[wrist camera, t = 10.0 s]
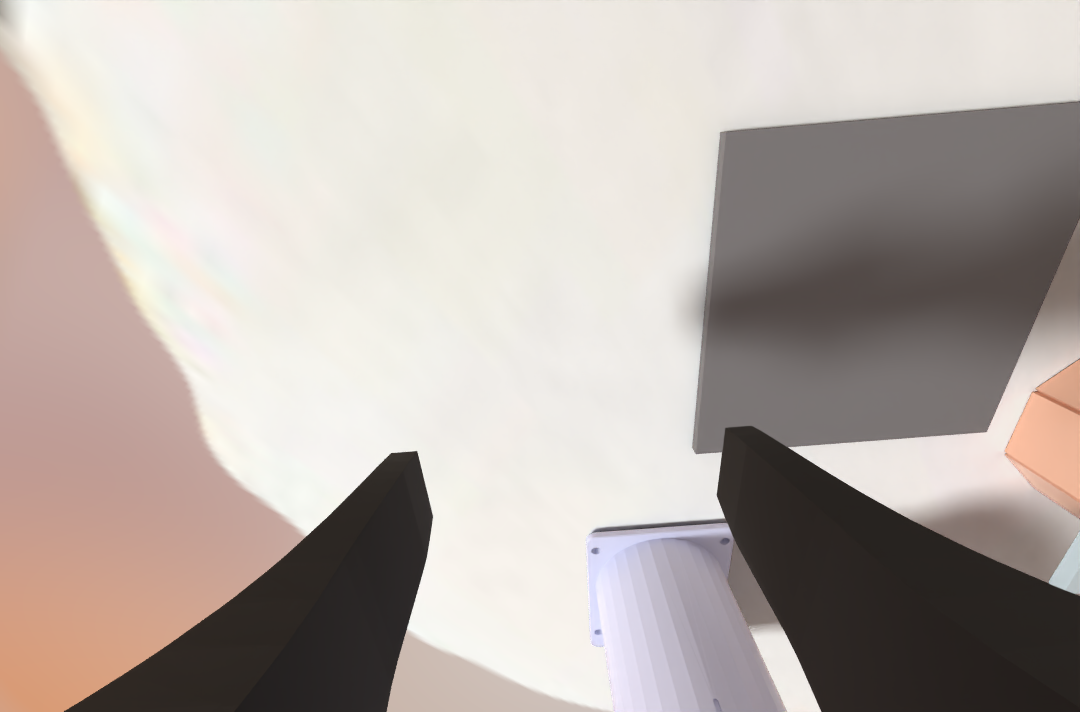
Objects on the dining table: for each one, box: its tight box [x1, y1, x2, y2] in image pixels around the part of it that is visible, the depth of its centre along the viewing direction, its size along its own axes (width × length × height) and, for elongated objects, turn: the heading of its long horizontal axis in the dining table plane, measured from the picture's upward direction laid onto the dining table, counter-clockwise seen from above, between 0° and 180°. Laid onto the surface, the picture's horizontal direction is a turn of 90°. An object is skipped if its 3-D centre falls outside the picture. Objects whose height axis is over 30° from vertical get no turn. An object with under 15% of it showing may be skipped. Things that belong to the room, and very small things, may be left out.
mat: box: [692, 102, 1080, 454], centre depth 19 cm, size 14×14×1 cm
